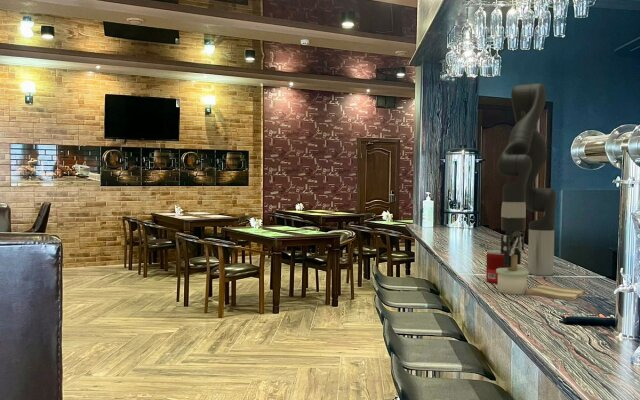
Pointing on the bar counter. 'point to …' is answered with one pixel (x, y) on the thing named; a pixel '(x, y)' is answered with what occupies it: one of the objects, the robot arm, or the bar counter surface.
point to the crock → (512, 284)
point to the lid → (512, 269)
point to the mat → (556, 292)
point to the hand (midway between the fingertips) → (512, 265)
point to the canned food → (494, 265)
